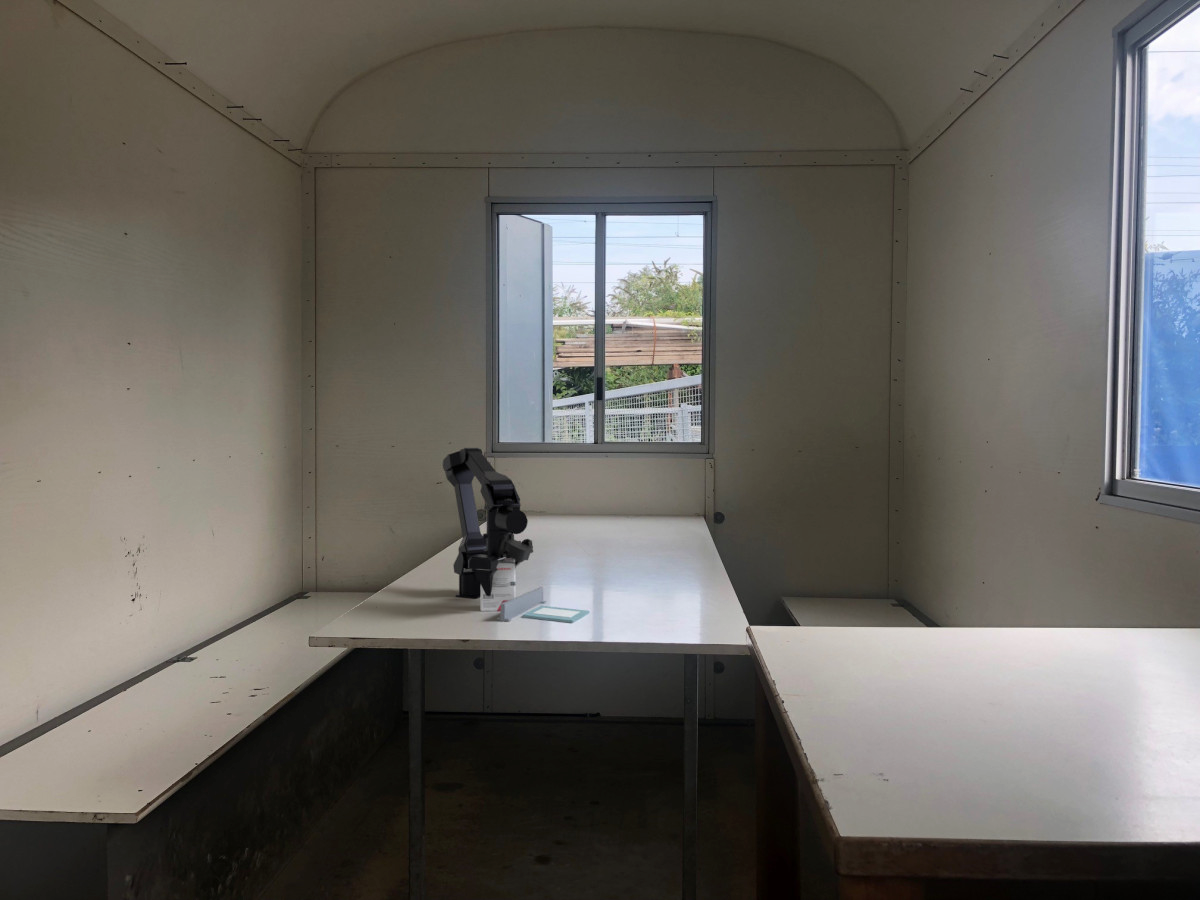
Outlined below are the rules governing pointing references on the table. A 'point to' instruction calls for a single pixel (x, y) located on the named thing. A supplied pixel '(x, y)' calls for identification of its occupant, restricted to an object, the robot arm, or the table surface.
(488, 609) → the ink box
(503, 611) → the grey long bar
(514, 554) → the robot arm
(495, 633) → the table surface
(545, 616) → the teal picture frame
